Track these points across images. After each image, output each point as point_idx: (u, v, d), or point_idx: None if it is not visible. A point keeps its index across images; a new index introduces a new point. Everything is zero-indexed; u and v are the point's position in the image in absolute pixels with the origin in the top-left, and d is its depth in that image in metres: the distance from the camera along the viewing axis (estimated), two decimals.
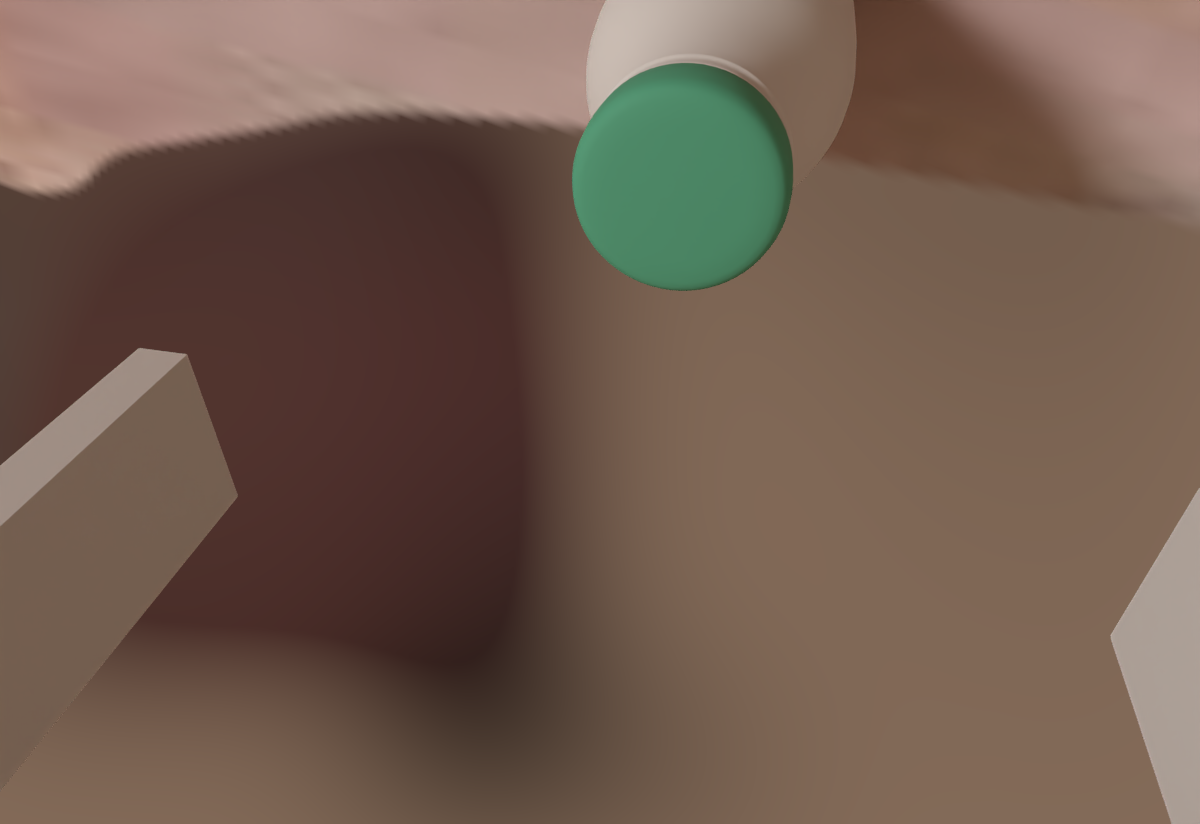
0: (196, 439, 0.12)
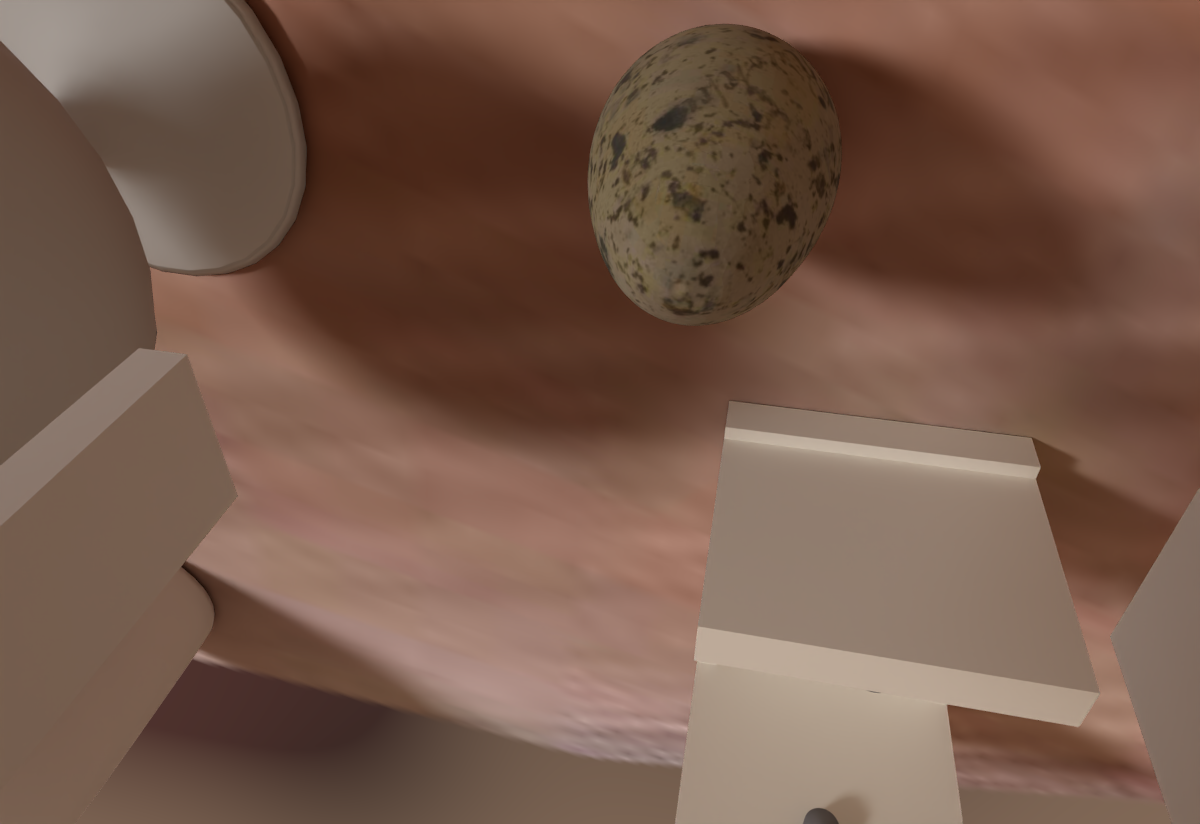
0: (196, 439, 0.12)
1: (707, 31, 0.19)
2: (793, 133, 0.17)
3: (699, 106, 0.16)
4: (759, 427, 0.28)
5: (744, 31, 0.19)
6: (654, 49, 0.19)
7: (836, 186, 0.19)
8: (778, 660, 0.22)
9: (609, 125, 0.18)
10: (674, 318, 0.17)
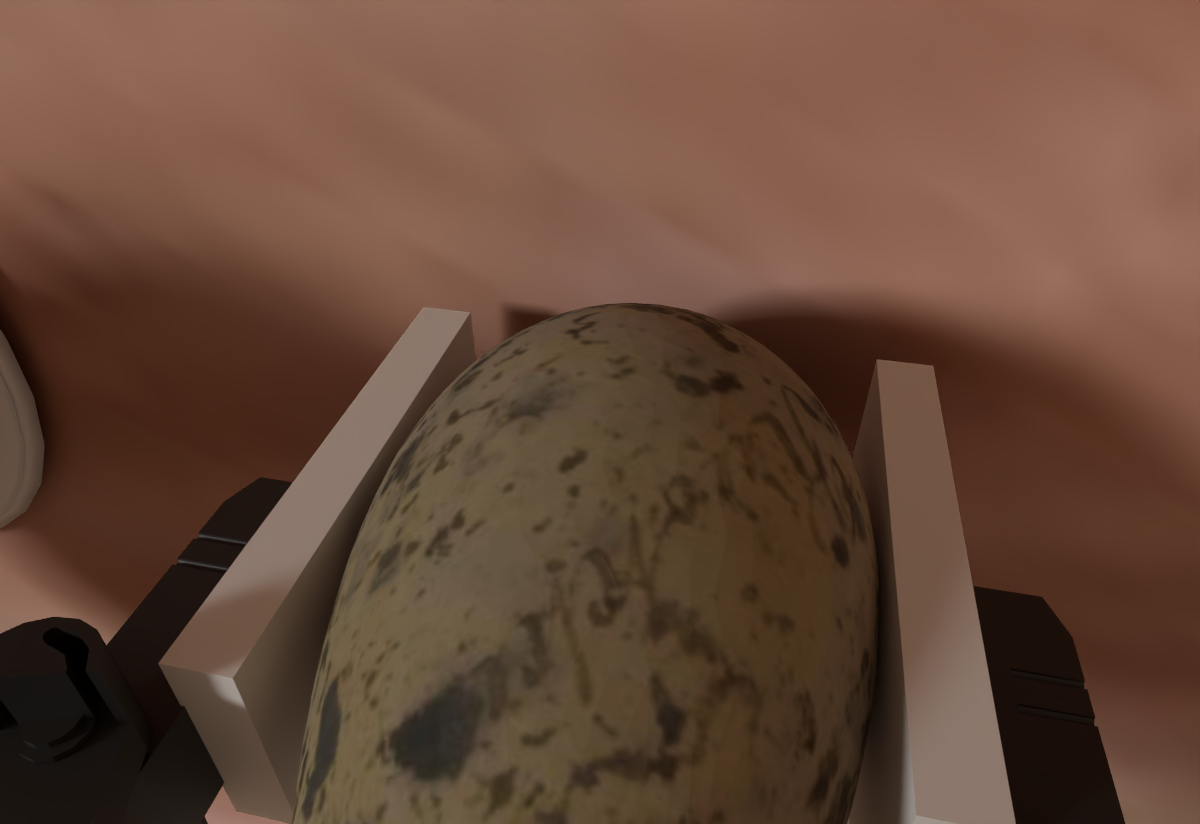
0: None
1: (580, 370, 0.08)
2: (770, 735, 0.06)
3: (513, 695, 0.06)
4: None
5: (664, 369, 0.08)
6: (471, 391, 0.09)
7: None
8: None
9: (339, 622, 0.08)
10: None
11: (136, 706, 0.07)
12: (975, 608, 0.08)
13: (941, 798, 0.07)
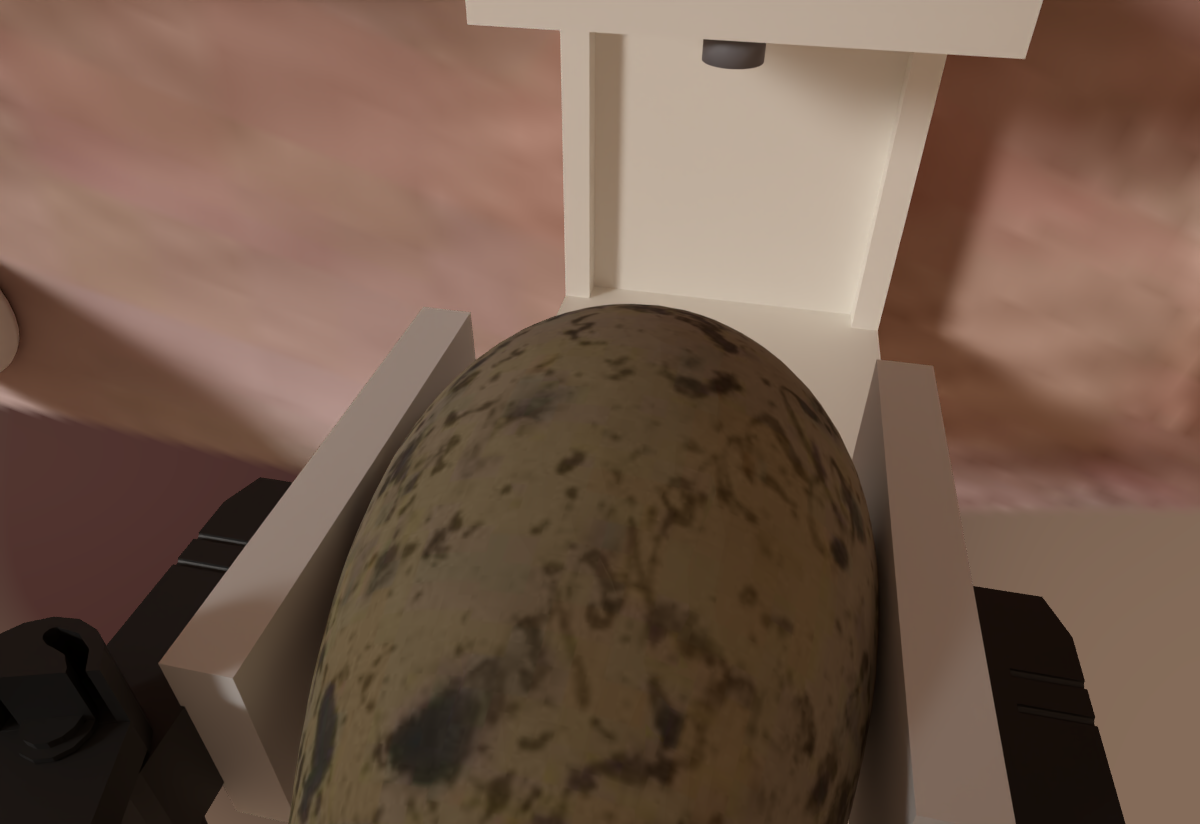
0: None
1: (578, 371, 0.08)
2: (769, 739, 0.06)
3: (510, 698, 0.06)
4: None
5: (662, 370, 0.08)
6: (469, 392, 0.09)
7: (870, 710, 0.08)
8: None
9: (335, 624, 0.08)
10: None
11: (136, 706, 0.07)
12: (975, 608, 0.08)
13: (941, 799, 0.07)
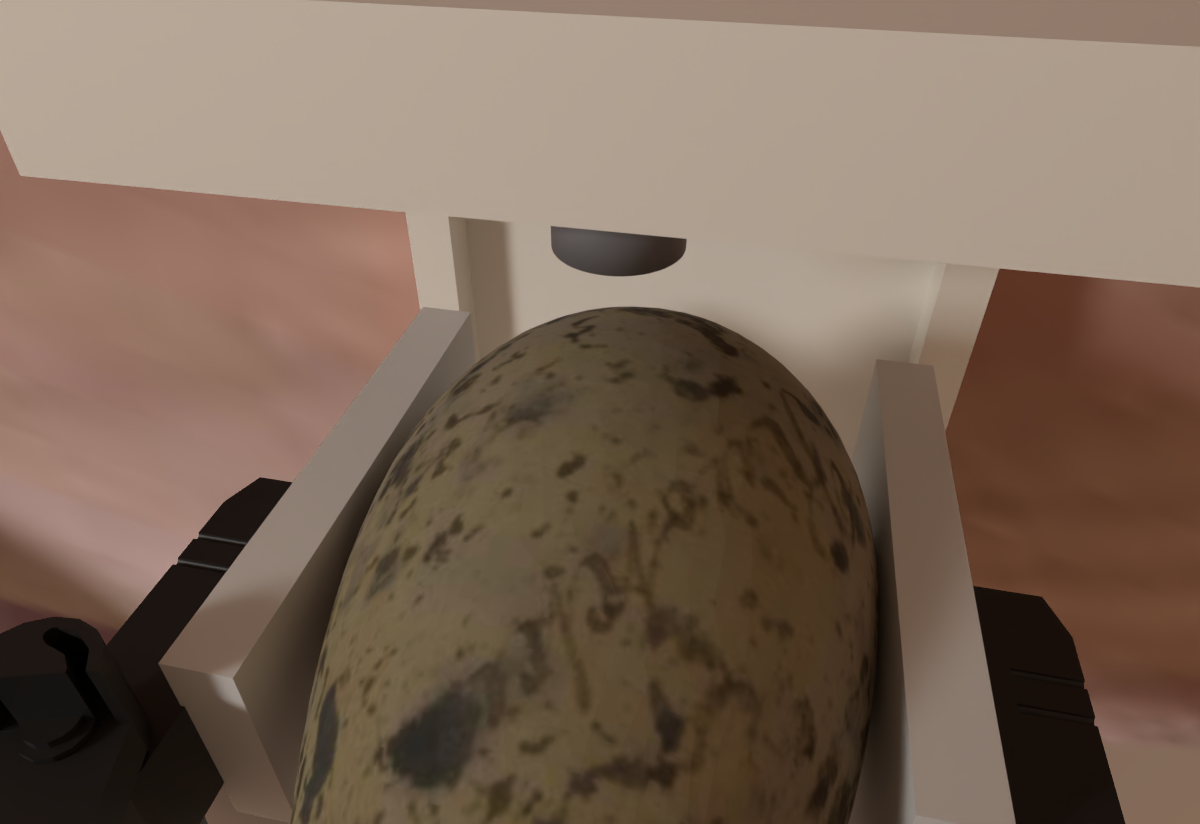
0: None
1: (579, 374, 0.08)
2: (768, 743, 0.06)
3: (511, 702, 0.06)
4: None
5: (663, 374, 0.08)
6: (470, 396, 0.09)
7: None
8: (238, 118, 0.06)
9: (336, 628, 0.08)
10: None
11: (136, 706, 0.07)
12: (975, 608, 0.08)
13: (941, 798, 0.07)
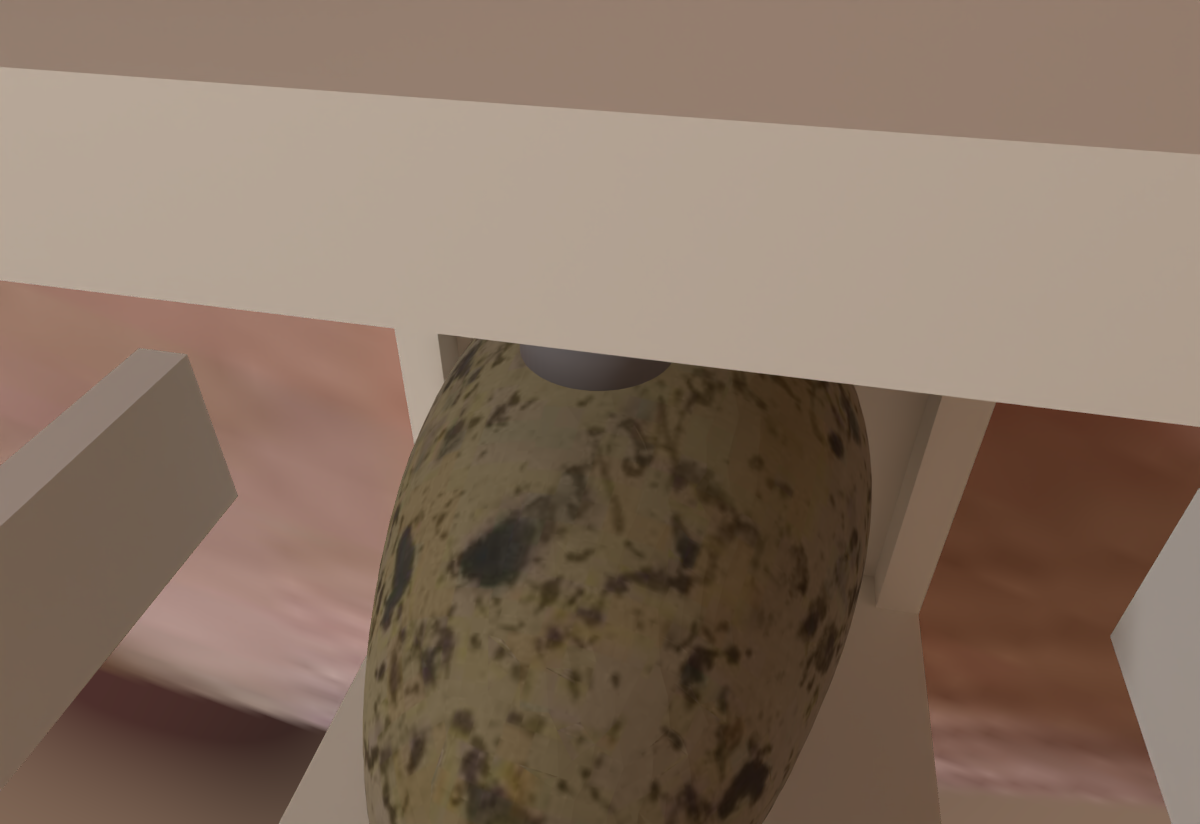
0: (196, 439, 0.12)
1: None
2: (768, 573, 0.08)
3: (559, 524, 0.07)
4: None
5: None
6: None
7: (859, 588, 0.10)
8: (141, 214, 0.05)
9: (410, 486, 0.09)
10: None
11: None
12: None
13: None
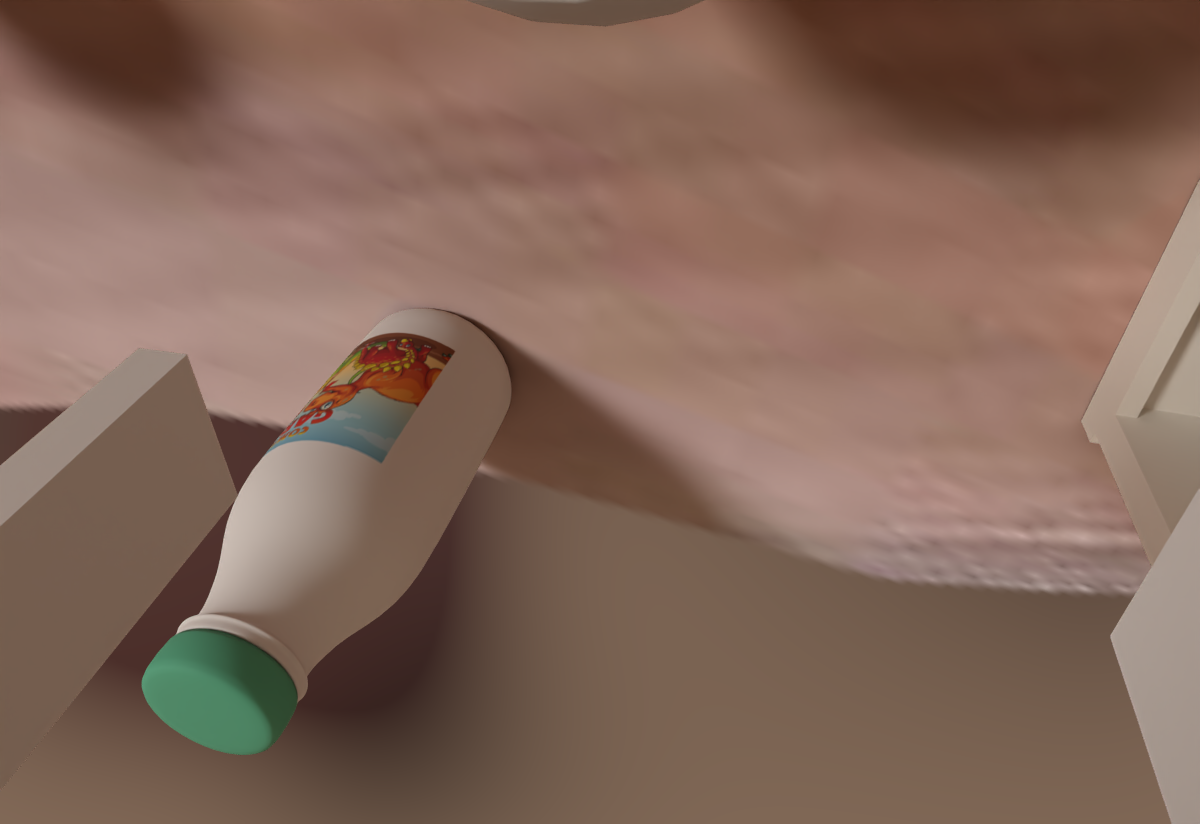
0: (196, 439, 0.12)
1: None
2: None
3: None
4: None
5: None
6: None
7: None
8: None
9: None
10: None
11: None
12: None
13: None
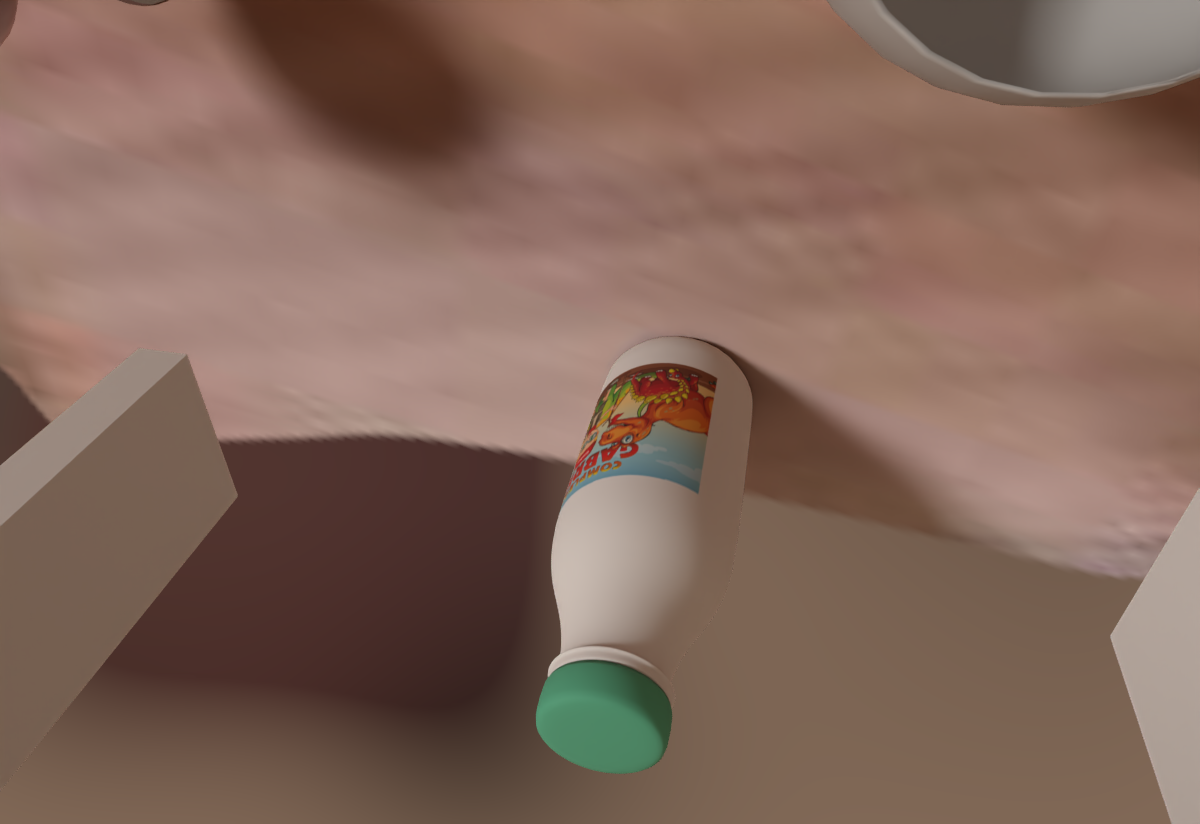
0: (196, 439, 0.12)
1: None
2: None
3: None
4: None
5: None
6: None
7: None
8: None
9: None
10: None
11: None
12: None
13: None
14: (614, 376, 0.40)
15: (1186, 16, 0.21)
